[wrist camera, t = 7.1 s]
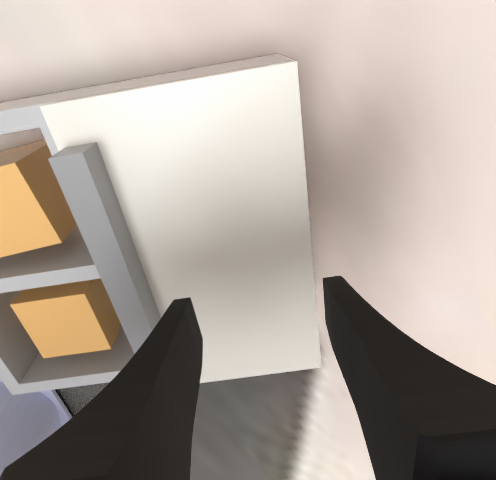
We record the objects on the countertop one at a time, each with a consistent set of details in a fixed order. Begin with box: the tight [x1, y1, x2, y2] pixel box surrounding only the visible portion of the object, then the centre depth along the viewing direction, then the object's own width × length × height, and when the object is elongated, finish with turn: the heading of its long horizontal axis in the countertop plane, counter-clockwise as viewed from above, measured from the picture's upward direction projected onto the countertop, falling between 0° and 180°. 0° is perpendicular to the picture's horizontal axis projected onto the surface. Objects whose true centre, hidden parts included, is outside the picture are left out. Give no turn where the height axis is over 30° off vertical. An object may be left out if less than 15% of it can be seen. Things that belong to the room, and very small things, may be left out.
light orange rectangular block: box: [0, 140, 77, 257], centre depth 18 cm, size 4×4×5 cm
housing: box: [0, 53, 293, 395], centre depth 19 cm, size 15×18×6 cm
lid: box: [40, 60, 321, 383], centre depth 16 cm, size 15×9×2 cm, turn 9°
